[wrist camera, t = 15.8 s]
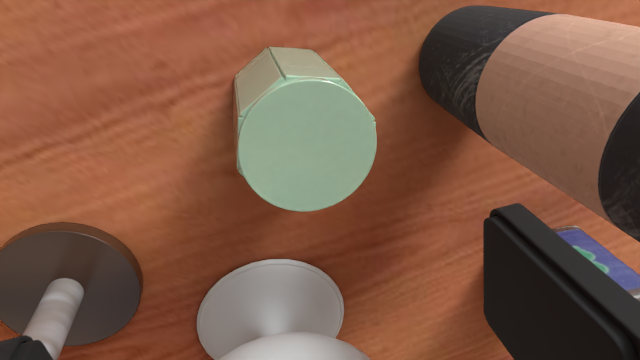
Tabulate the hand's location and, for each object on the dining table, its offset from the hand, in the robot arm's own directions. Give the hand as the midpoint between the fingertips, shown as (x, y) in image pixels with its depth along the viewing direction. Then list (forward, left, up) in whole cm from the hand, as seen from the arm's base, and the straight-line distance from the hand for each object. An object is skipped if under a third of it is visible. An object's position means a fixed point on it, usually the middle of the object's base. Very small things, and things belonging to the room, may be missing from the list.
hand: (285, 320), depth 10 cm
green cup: (+2, +3, -23) cm, 23 cm away
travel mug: (+2, +15, -23) cm, 28 cm away
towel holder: (+12, -16, -23) cm, 30 cm away
